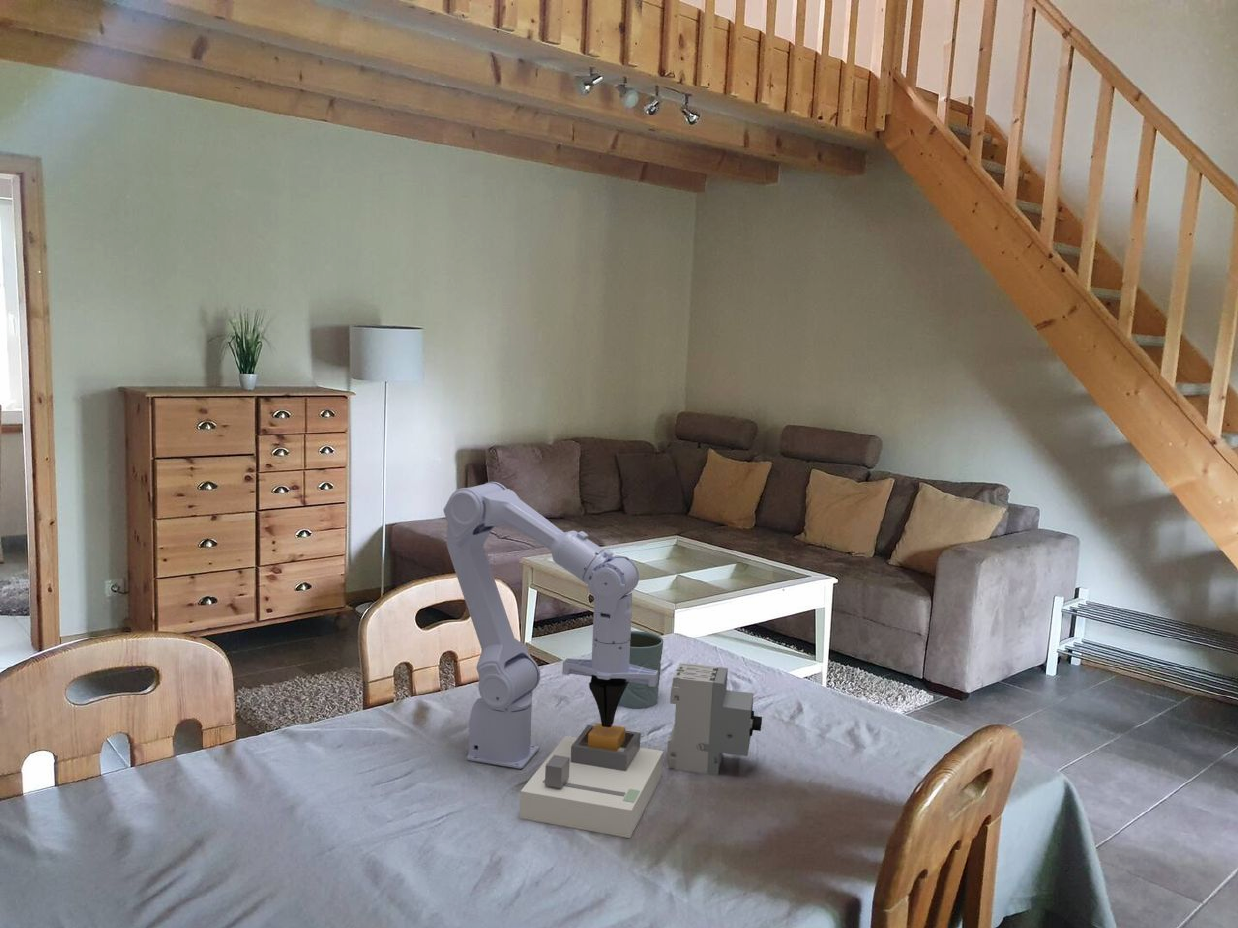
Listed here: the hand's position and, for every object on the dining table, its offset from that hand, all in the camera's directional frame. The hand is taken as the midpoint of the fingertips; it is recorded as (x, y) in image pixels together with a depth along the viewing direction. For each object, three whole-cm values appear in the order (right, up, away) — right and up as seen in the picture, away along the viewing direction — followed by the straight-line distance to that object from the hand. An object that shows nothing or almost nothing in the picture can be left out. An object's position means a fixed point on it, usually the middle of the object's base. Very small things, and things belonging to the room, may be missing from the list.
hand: (607, 724), depth 146 cm
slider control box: (-2, -9, -4) cm, 10 cm away
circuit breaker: (+17, -9, +8) cm, 21 cm away
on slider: (-7, -6, -9) cm, 13 cm away
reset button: (0, -3, 0) cm, 3 cm away
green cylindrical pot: (+4, -5, +34) cm, 35 cm away
